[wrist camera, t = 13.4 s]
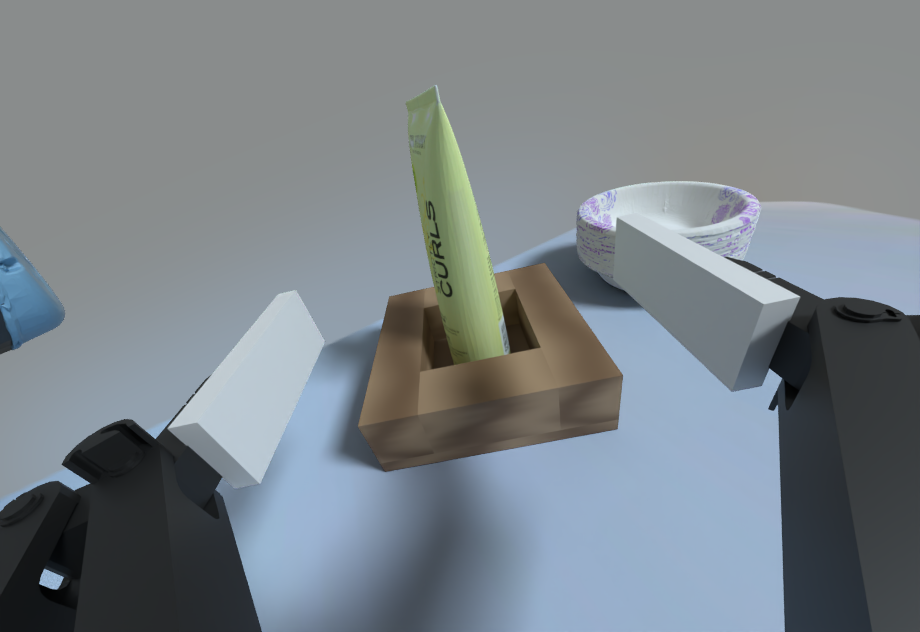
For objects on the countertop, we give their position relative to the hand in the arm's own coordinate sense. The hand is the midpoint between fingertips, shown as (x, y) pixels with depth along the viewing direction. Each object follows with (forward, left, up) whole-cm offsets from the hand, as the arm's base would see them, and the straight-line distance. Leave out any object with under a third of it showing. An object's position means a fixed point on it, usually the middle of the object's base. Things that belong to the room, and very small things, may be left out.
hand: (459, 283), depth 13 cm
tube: (0, +9, -13) cm, 16 cm away
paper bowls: (+20, +19, -14) cm, 31 cm away
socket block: (0, +9, -14) cm, 17 cm away
